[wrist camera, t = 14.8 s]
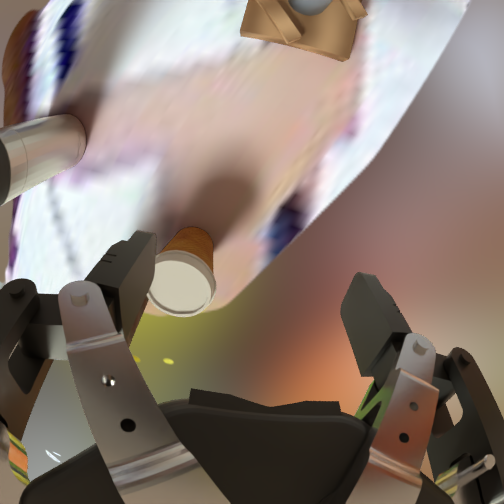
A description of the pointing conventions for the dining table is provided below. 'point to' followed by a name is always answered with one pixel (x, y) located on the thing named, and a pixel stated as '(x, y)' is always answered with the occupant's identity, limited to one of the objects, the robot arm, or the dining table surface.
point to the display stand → (305, 26)
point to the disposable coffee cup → (184, 274)
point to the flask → (309, 6)
